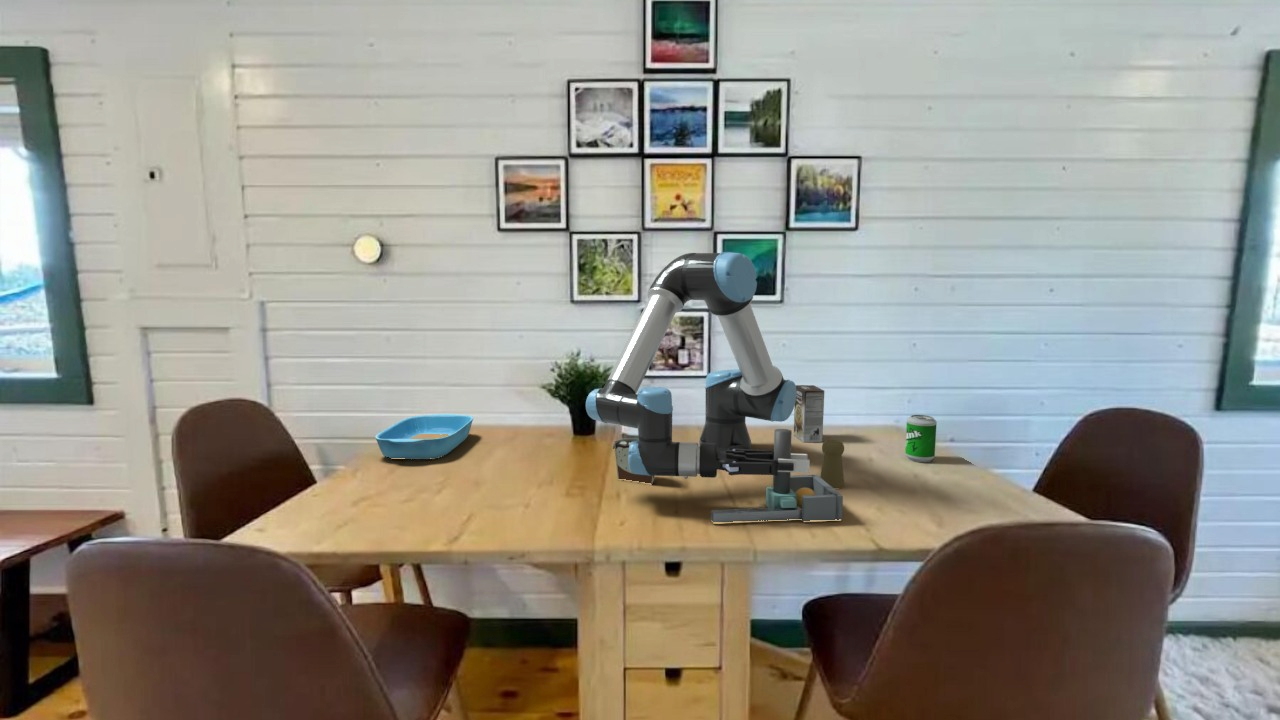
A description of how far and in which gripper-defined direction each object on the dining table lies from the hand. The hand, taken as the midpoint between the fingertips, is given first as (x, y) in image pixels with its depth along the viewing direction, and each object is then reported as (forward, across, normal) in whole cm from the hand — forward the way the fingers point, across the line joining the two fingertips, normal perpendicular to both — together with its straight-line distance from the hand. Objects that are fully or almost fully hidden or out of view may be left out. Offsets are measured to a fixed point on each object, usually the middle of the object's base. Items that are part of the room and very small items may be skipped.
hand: (807, 463), depth 147 cm
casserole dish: (-106, -42, -12) cm, 114 cm away
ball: (-1, -1, -6) cm, 6 cm away
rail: (-11, +6, -11) cm, 17 cm away
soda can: (+35, -45, -11) cm, 58 cm away
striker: (-5, +1, -11) cm, 12 cm away
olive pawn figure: (+8, -20, -11) cm, 24 cm away
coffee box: (+8, -65, -11) cm, 66 cm away
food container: (-39, -19, -11) cm, 45 cm away
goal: (+1, -2, -11) cm, 11 cm away
